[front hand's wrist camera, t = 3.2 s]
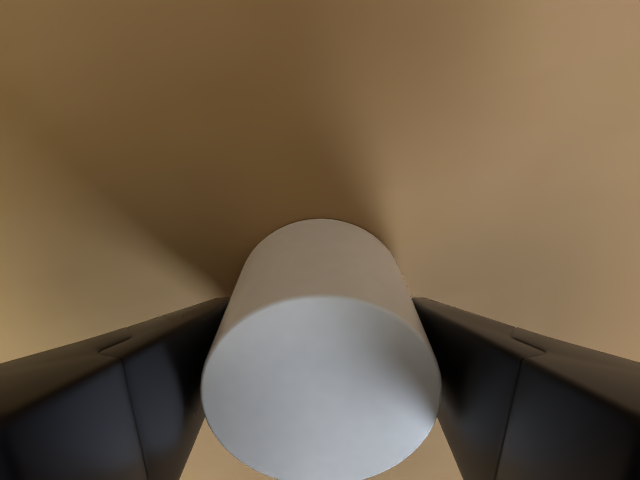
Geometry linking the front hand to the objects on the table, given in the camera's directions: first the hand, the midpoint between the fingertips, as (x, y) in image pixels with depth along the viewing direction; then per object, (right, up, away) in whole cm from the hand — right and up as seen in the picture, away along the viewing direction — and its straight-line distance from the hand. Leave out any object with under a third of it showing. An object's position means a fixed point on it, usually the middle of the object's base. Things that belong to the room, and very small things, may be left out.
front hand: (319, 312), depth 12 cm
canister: (0, 0, +1) cm, 1 cm away
